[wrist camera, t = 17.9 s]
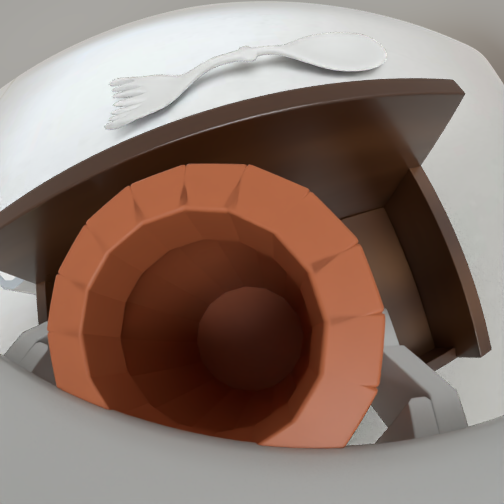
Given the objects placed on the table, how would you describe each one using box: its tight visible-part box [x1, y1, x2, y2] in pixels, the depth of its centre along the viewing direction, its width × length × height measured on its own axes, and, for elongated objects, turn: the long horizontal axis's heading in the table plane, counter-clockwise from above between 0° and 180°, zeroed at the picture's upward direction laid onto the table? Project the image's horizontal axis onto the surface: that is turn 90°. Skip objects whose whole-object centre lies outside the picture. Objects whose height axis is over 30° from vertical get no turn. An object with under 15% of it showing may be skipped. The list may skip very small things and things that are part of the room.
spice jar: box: [47, 164, 385, 449], centre depth 9 cm, size 6×6×10 cm
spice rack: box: [0, 78, 491, 371], centre depth 12 cm, size 10×20×14 cm, turn 106°
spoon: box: [104, 32, 387, 130], centre depth 25 cm, size 9×32×4 cm, turn 107°
